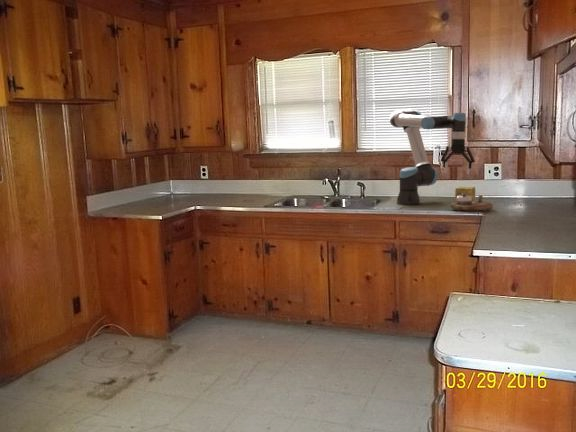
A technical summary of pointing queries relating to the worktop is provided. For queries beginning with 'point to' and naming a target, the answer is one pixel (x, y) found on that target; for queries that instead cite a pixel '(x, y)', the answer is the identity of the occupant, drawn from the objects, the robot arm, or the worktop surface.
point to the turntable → (474, 205)
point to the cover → (464, 199)
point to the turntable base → (471, 210)
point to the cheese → (466, 190)
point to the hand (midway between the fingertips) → (457, 173)
